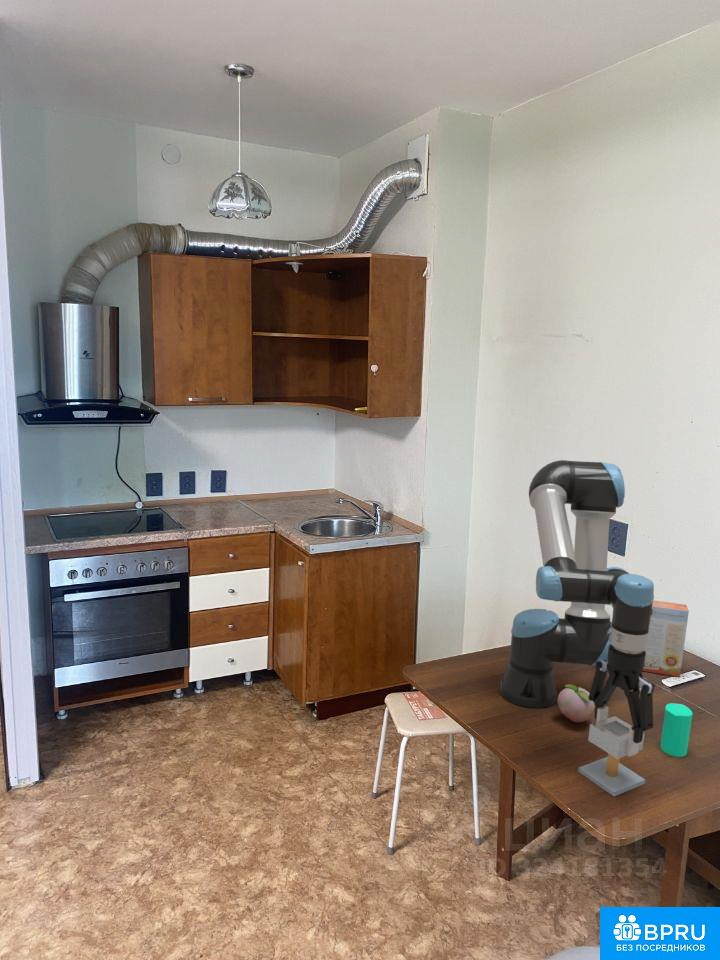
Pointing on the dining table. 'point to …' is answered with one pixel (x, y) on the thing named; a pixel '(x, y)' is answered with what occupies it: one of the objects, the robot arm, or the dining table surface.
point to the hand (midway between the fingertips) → (615, 743)
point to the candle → (676, 729)
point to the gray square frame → (611, 736)
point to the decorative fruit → (575, 703)
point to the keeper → (611, 775)
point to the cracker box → (666, 638)
